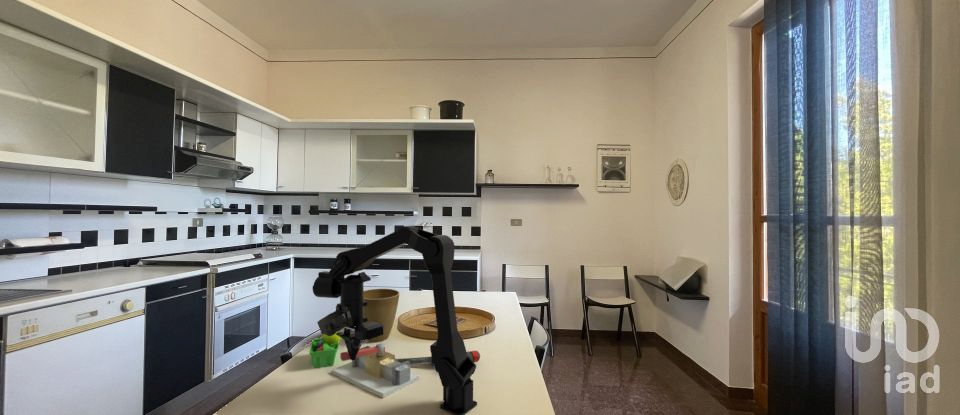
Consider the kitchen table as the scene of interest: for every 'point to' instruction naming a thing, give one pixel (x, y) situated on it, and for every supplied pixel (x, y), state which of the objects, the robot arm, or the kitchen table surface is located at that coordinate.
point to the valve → (472, 354)
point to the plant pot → (381, 309)
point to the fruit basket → (324, 350)
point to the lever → (365, 352)
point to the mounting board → (370, 380)
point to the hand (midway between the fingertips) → (352, 359)
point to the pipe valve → (384, 367)
